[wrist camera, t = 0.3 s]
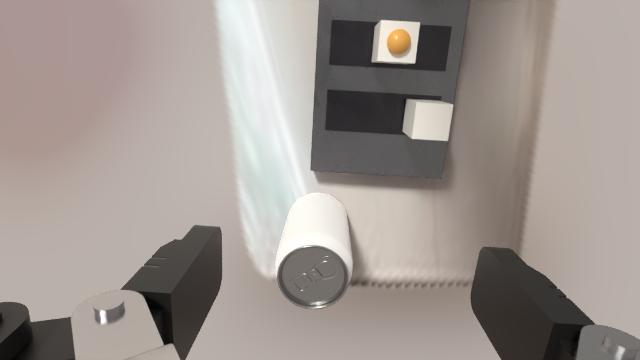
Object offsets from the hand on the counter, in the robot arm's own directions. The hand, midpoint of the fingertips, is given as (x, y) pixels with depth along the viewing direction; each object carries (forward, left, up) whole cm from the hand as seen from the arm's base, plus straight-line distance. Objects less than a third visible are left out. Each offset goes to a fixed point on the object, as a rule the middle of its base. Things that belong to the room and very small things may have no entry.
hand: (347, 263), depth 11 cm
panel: (-8, +4, -27) cm, 29 cm away
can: (+10, -1, -27) cm, 29 cm away
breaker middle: (-8, +4, -25) cm, 26 cm away
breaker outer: (-2, +8, -25) cm, 26 cm away
